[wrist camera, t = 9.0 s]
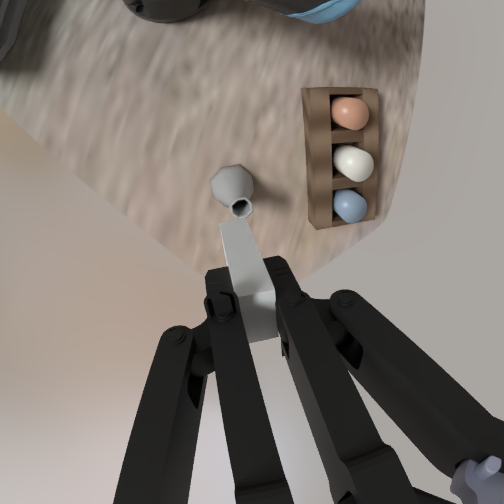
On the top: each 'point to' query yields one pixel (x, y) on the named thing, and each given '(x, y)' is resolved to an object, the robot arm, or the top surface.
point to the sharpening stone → (10, 23)
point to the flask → (234, 190)
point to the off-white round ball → (353, 162)
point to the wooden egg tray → (320, 153)
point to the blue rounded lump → (348, 205)
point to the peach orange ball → (348, 112)
